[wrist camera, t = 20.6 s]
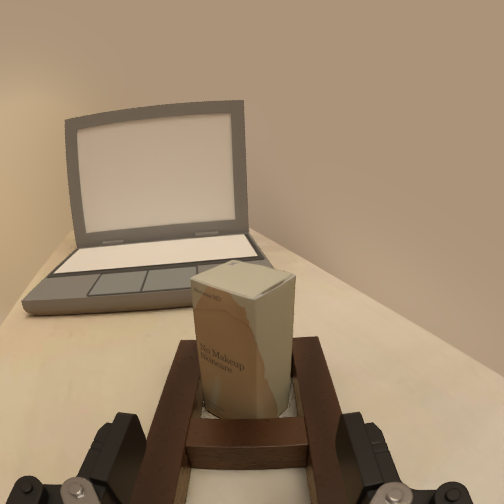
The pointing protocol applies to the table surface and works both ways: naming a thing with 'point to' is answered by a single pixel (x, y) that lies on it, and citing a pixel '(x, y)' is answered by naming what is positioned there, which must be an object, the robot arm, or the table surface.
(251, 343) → the box
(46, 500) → the robot arm
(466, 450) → the table surface
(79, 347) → the table surface
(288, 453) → the socket pad
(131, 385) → the table surface
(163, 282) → the laptop
